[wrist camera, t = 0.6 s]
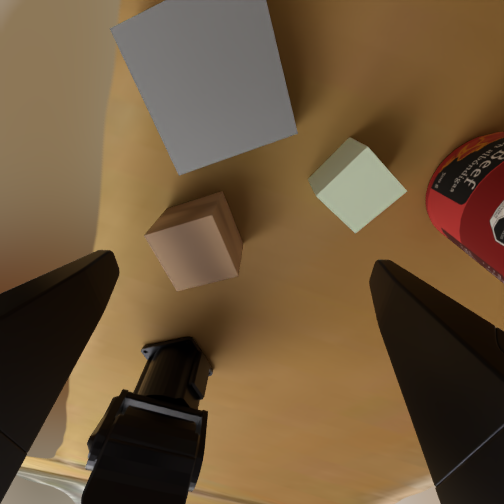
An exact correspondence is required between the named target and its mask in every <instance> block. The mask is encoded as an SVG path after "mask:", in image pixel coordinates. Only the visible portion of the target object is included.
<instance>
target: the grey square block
mask: <svg viewBox="0 0 504 504" xmlns="http://www.w3.org/2000/svg"><path fill="white" fill-rule="evenodd" d="M110 30H111V32H112V34H113V37H114V39H115V41H116V43H117V45H118V47H119V49H120V52H121V54H122V56H123V58H124V60H125V62H126V64H127V66H128V69H129V71H130V73H131V75H132V77H133V79H134V81H135V83H136V85H137V88H138V90H139V92H140V94H141V96H142V98H143V100H144V102H145V105H146V107H147V109H148V111H149V113H150V115H151V117H152V119H153V121H154V124H155V126H156V128H157V130H158V132H159V134H160V136H161V138H162V141H163V143H164V145H165V147H166V149H167V151H168V153H169V155H170V158H171V160H172V162H173V164H174V166H175V168H176V170H177V172H178V174H179V175H182V174H185V173H188V172H190V171H193V170H196V169H199V168H202V167H204V166H207V165H210V164H213V163H216V162H219V161H221V160H224V159H227V158H230V157H233V156H236V155H238V154H241V153H244V152H247V151H250V150H253V149H255V148H258V147H261V146H264V145H267V144H270V143H272V142H275V141H278V140H281V139H284V138H287V137H289V136H292V135H295V134H298V132H297V128H296V124H295V120H294V116H293V111H292V107H291V103H290V99H289V95H288V90H287V86H286V82H285V78H284V73H283V69H282V65H281V61H280V57H279V52H278V48H277V44H276V40H275V36H274V31H273V27H272V23H271V19H270V15H269V10H268V6H267V2H266V0H165V1H163V2H161V3H159V4H157V5H155V6H153V7H151V8H149V9H148V10H146V11H144V12H142V13H140V14H138V15H136V16H134V17H132V18H130V19H128V20H126V21H124V22H122V23H120V24H118V25H116V26H114V27H112V28H110Z"/></svg>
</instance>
